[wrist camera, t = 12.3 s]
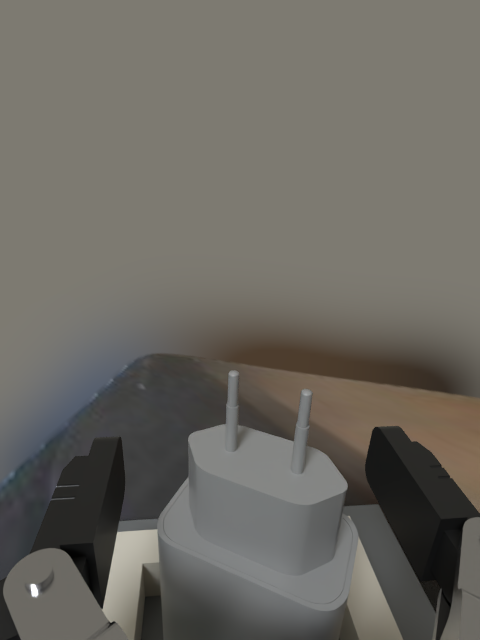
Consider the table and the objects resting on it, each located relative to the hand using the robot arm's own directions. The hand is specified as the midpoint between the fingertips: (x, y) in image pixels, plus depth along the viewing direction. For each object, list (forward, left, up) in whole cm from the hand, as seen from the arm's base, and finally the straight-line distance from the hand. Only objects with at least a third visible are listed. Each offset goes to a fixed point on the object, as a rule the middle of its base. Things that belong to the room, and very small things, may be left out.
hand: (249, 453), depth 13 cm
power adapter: (0, +2, -8) cm, 9 cm away
